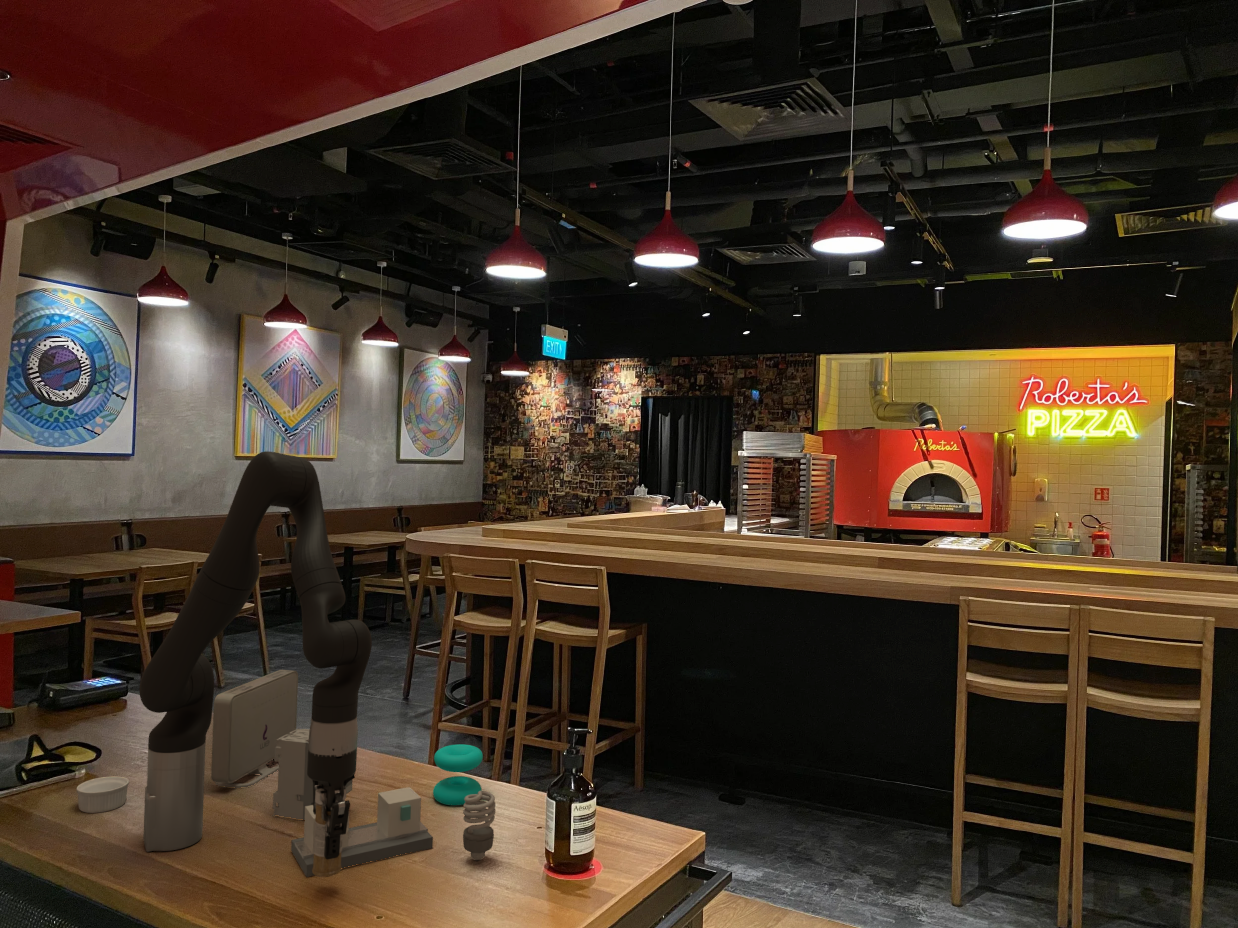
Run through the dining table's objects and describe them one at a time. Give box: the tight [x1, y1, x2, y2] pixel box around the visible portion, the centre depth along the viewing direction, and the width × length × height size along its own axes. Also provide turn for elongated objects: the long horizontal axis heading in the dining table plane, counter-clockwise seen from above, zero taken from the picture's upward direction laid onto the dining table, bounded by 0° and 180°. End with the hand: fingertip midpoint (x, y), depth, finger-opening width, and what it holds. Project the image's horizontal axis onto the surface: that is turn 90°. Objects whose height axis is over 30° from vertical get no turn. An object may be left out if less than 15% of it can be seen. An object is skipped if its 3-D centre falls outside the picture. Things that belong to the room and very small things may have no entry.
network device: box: [210, 669, 299, 789], centre depth 188 cm, size 26×9×20 cm, turn 170°
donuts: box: [432, 743, 484, 806], centre depth 177 cm, size 10×10×10 cm
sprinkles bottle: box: [312, 788, 343, 878], centre depth 137 cm, size 5×5×14 cm
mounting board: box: [290, 821, 434, 878], centre depth 152 cm, size 22×11×2 cm, turn 124°
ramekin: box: [76, 775, 130, 814], centre depth 167 cm, size 9×9×4 cm
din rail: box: [295, 821, 429, 859], centre depth 152 cm, size 22×6×1 cm, turn 124°
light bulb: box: [462, 790, 496, 862], centre depth 149 cm, size 6×6×12 cm
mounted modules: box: [303, 786, 422, 854], centre depth 152 cm, size 19×7×6 cm, turn 124°
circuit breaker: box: [272, 728, 356, 820], centre depth 167 cm, size 8×14×15 cm, turn 78°
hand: (327, 850), depth 137 cm, fingers closed on sprinkles bottle, 4 cm apart
